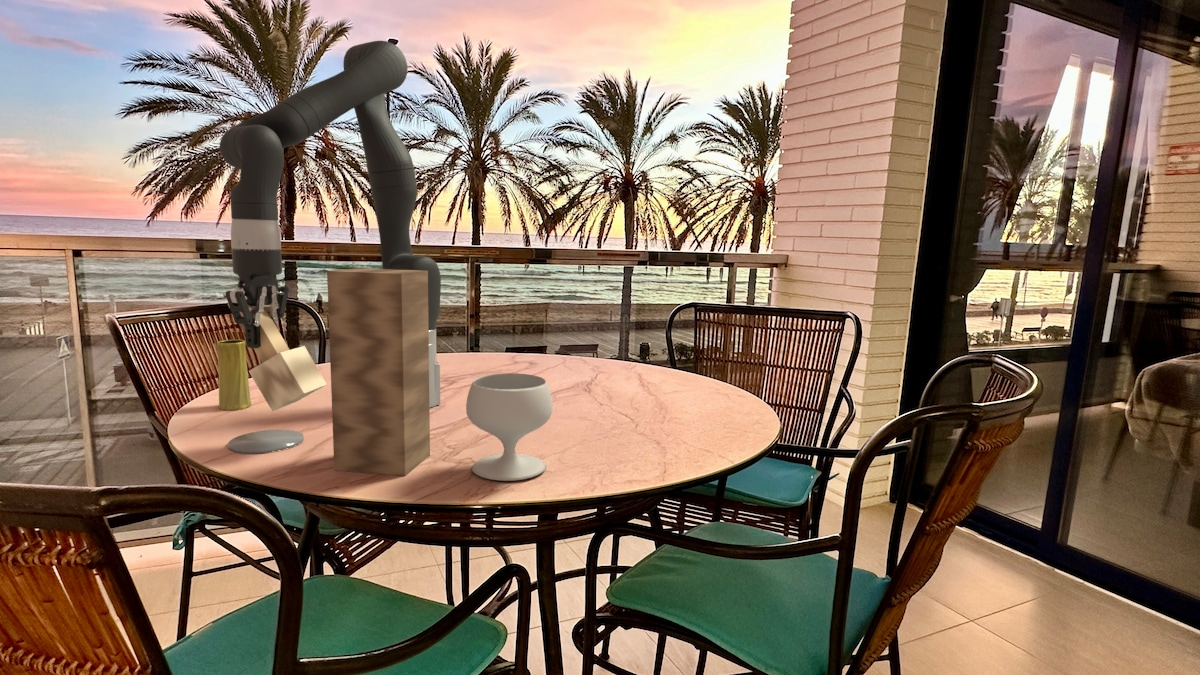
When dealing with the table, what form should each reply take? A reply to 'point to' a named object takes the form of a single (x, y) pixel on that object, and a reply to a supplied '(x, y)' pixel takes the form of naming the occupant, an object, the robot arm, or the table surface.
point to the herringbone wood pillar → (379, 369)
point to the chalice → (509, 421)
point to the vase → (233, 375)
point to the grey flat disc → (265, 441)
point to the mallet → (282, 367)
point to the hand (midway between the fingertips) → (261, 345)
